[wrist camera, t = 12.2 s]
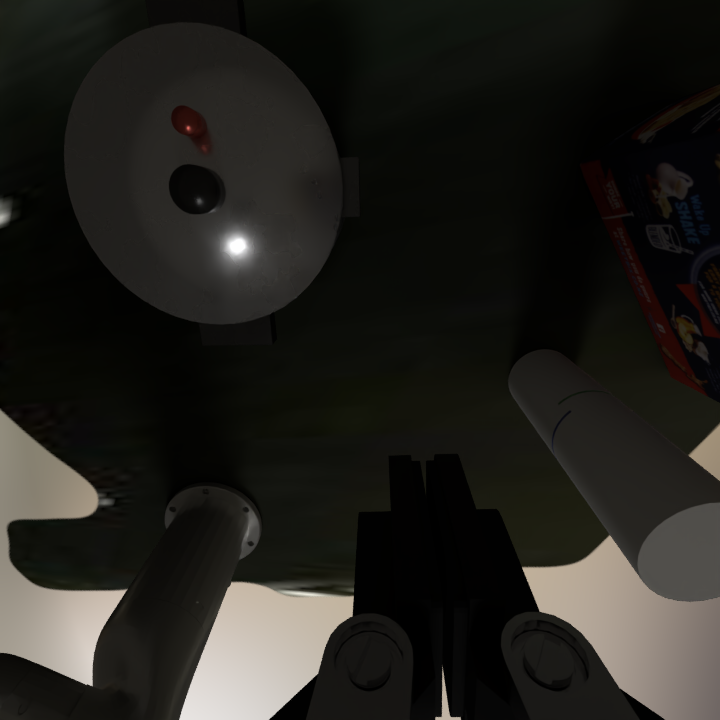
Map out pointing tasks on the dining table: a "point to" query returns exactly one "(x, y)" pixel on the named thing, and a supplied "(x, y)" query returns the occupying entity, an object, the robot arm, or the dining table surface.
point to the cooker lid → (203, 173)
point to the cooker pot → (226, 9)
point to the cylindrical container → (627, 476)
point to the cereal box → (669, 228)
